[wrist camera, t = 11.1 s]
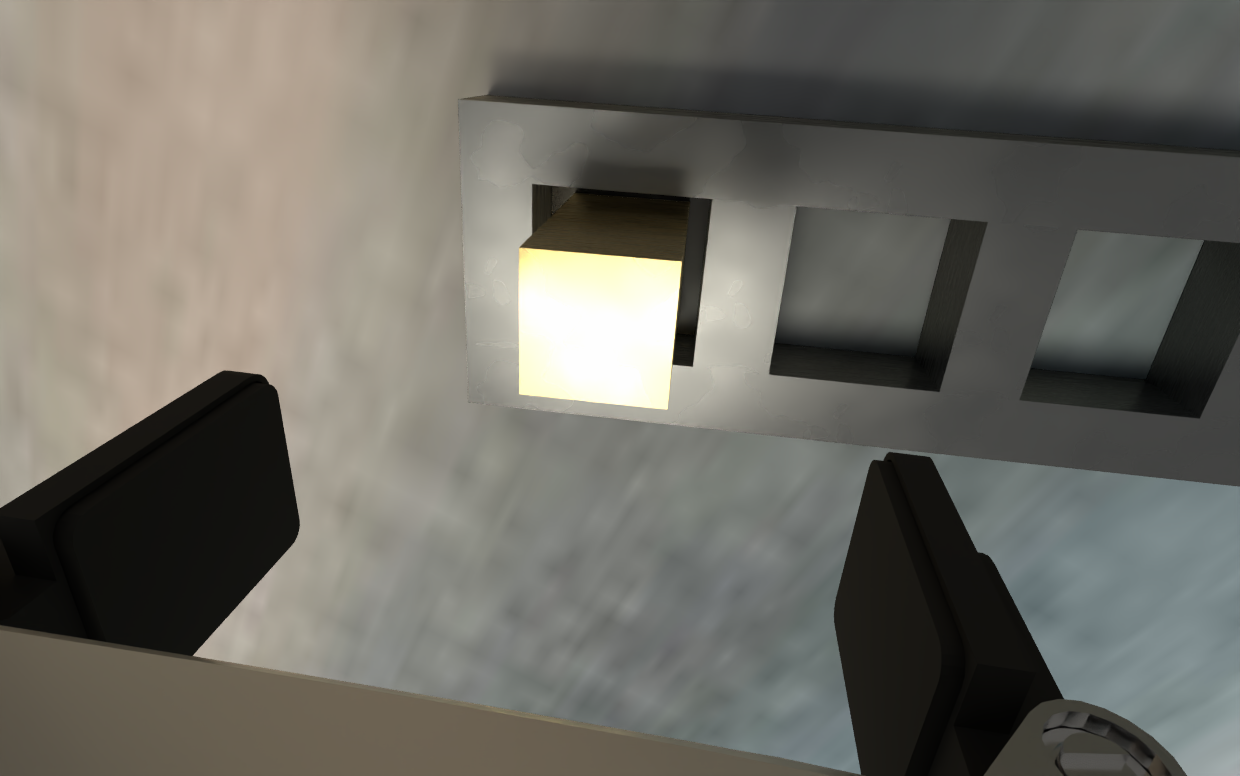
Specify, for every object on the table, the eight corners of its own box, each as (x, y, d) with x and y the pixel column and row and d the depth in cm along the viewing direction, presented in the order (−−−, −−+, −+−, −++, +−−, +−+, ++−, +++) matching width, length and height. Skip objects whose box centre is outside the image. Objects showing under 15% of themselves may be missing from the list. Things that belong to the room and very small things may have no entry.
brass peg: (690, 202, 24) (681, 261, 17) (679, 312, 26) (667, 409, 19) (575, 192, 24) (518, 247, 17) (571, 302, 26) (519, 393, 19)
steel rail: (1321, 156, 21) (1410, 170, 19) (1187, 442, 26) (1243, 487, 23) (486, 94, 23) (457, 99, 21) (491, 369, 28) (468, 402, 25)
